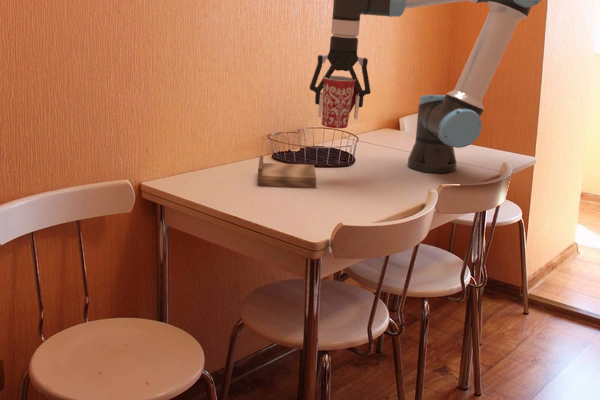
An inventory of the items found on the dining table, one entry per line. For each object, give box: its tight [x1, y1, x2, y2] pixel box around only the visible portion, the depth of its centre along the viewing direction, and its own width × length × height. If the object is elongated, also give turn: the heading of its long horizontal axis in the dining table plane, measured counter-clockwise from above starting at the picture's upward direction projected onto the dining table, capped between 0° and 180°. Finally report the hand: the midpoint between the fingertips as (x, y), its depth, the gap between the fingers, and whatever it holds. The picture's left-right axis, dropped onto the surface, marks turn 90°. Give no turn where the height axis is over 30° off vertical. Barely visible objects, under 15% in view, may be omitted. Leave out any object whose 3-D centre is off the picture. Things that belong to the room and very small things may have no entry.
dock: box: [257, 155, 317, 189], centre depth 200 cm, size 16×14×5 cm
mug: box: [321, 75, 359, 129], centre depth 196 cm, size 13×9×14 cm
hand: (337, 117), depth 197 cm, fingers closed on mug, 9 cm apart
